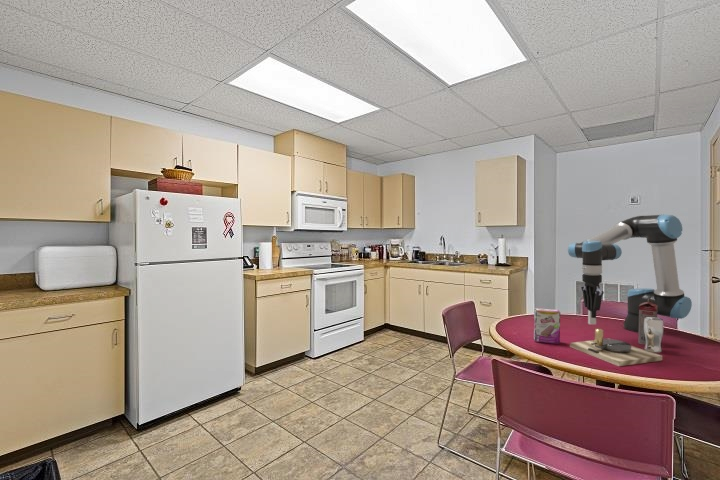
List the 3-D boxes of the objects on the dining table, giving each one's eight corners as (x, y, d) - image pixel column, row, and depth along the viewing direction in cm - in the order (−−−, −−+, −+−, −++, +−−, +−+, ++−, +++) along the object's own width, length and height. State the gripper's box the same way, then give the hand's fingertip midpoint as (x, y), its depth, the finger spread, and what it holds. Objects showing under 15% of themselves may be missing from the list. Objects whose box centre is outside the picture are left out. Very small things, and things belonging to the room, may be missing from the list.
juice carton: (638, 343, 167) (639, 299, 166) (639, 340, 172) (640, 297, 171) (656, 346, 162) (657, 301, 162) (656, 343, 167) (657, 299, 167)
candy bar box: (535, 342, 170) (535, 310, 169) (533, 339, 175) (533, 307, 174) (560, 344, 166) (560, 311, 166) (558, 341, 171) (558, 309, 170)
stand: (609, 342, 169) (609, 337, 169) (662, 360, 146) (662, 354, 145) (569, 347, 163) (569, 341, 163) (618, 366, 140) (618, 359, 140)
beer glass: (666, 353, 153) (667, 320, 153) (649, 352, 155) (649, 320, 154) (656, 348, 160) (657, 316, 160) (639, 347, 162) (640, 316, 161)
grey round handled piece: (612, 342, 161) (612, 323, 161) (638, 351, 150) (638, 331, 149) (580, 346, 158) (580, 326, 157) (603, 355, 146) (604, 334, 146)
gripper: (575, 272, 164) (575, 320, 165) (592, 276, 151) (592, 328, 152) (591, 271, 164) (591, 320, 164) (609, 275, 151) (609, 328, 151)
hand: (592, 323), depth 158 cm, fingers closed
